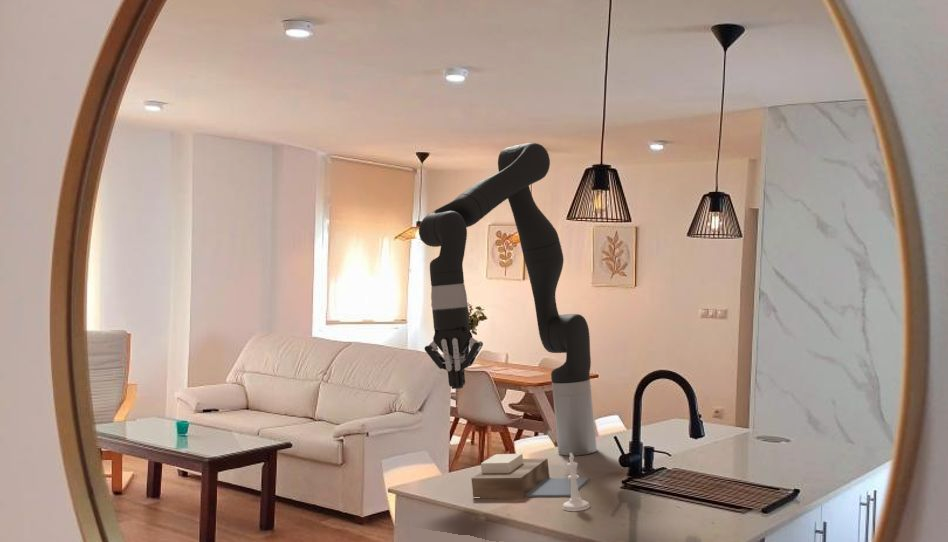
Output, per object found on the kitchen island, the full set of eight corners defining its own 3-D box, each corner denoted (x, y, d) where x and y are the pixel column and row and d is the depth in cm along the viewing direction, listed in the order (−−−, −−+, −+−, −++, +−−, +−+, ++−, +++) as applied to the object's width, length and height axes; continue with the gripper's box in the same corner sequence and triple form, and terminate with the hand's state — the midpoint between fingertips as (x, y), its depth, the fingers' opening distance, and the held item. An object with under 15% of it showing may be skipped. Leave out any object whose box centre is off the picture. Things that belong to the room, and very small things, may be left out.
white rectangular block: (496, 463, 192) (495, 454, 192) (523, 463, 190) (522, 453, 190) (481, 473, 183) (480, 463, 183) (509, 472, 181) (508, 462, 181)
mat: (545, 480, 190) (545, 478, 190) (589, 479, 186) (589, 477, 186) (524, 496, 176) (524, 494, 176) (571, 496, 173) (571, 494, 173)
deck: (503, 477, 196) (501, 459, 196) (549, 477, 192) (547, 458, 192) (473, 498, 179) (471, 478, 179) (523, 498, 176) (521, 477, 176)
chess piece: (559, 511, 163) (554, 456, 163) (567, 504, 168) (562, 450, 168) (585, 511, 161) (580, 455, 161) (593, 504, 166) (587, 450, 166)
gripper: (485, 303, 191) (493, 384, 191) (428, 308, 196) (435, 387, 196) (472, 304, 184) (480, 389, 184) (413, 309, 189) (421, 392, 189)
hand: (457, 388), depth 190 cm, fingers closed
